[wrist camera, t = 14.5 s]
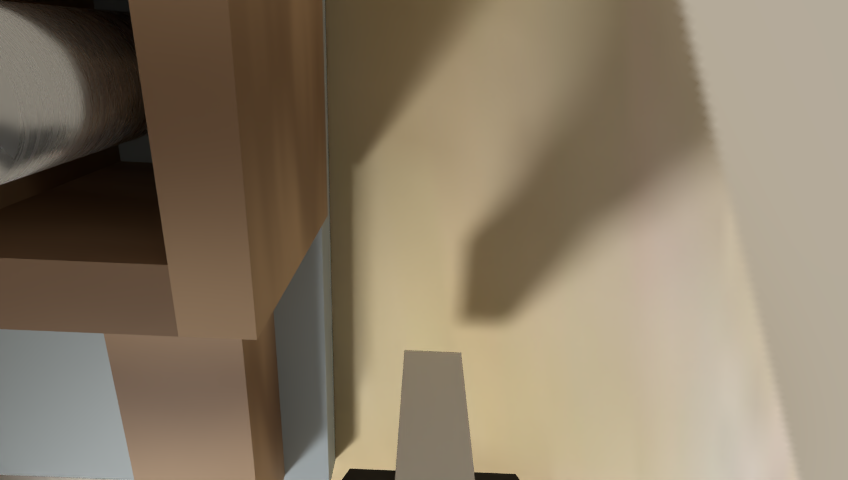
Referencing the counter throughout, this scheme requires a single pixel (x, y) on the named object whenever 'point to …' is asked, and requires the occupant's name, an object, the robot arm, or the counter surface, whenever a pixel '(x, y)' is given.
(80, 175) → the link
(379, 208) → the counter surface
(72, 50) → the cylinder
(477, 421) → the counter surface
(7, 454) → the board
